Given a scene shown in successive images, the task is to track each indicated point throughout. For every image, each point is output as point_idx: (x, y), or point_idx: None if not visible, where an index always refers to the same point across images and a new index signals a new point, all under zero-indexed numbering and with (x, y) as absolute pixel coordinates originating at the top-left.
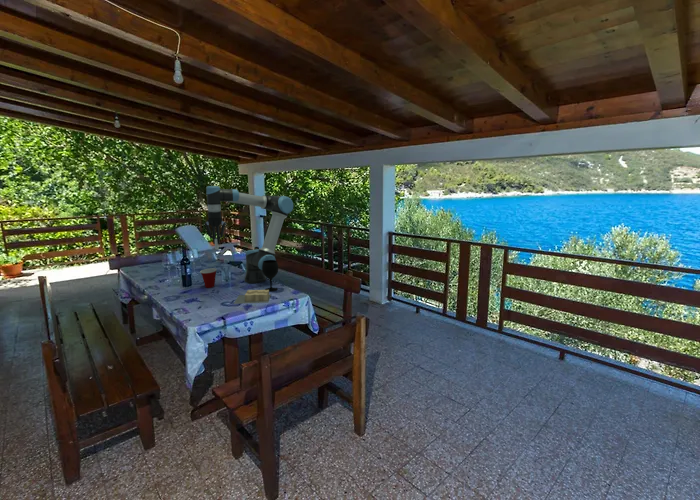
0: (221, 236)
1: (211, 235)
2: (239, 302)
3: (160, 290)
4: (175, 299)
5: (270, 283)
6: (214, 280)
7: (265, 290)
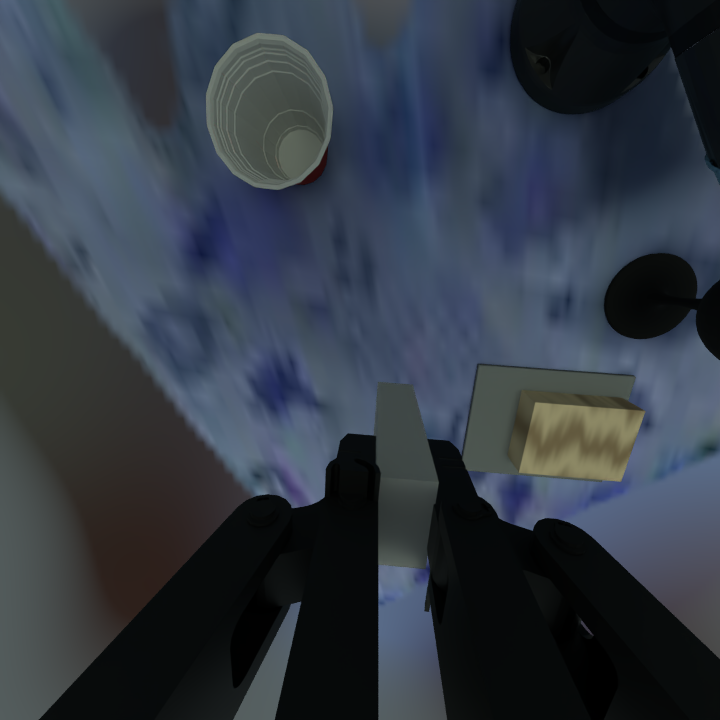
0: (567, 643)
1: (256, 562)
2: (484, 461)
3: (59, 194)
4: (204, 361)
5: (681, 306)
6: (326, 156)
7: (624, 422)
